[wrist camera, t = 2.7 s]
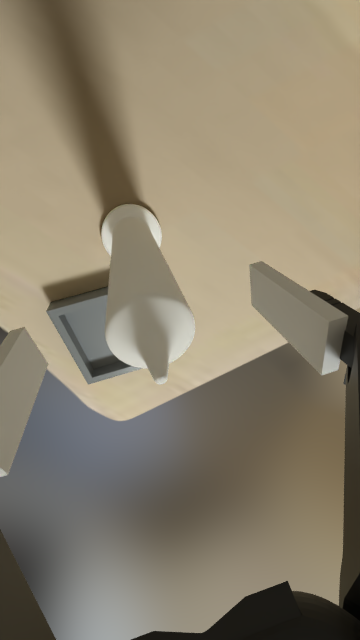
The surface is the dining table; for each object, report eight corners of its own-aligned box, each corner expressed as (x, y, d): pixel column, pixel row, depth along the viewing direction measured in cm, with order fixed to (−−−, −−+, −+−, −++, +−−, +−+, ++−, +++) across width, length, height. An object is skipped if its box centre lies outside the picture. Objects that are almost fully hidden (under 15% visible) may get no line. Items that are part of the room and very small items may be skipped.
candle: (89, 219, 29) (13, 357, 8) (145, 192, 29) (219, 262, 8) (120, 272, 33) (123, 460, 12) (169, 249, 33) (262, 398, 12)
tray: (50, 302, 33) (46, 311, 31) (148, 275, 34) (150, 283, 32) (89, 373, 40) (88, 384, 38) (169, 349, 41) (172, 359, 39)
